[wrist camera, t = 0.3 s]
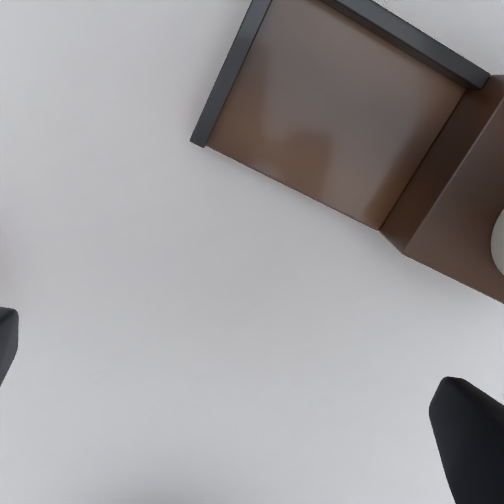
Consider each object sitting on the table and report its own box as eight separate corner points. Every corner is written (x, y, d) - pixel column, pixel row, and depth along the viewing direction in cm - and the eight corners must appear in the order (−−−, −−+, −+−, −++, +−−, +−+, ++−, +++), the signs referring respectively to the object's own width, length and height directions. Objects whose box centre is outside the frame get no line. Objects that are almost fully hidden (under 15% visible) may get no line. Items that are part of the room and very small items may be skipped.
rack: (493, 283, 25) (577, 346, 19) (193, 133, 22) (181, 154, 16) (587, 156, 23) (717, 183, 17) (270, -38, 19) (290, -92, 13)
